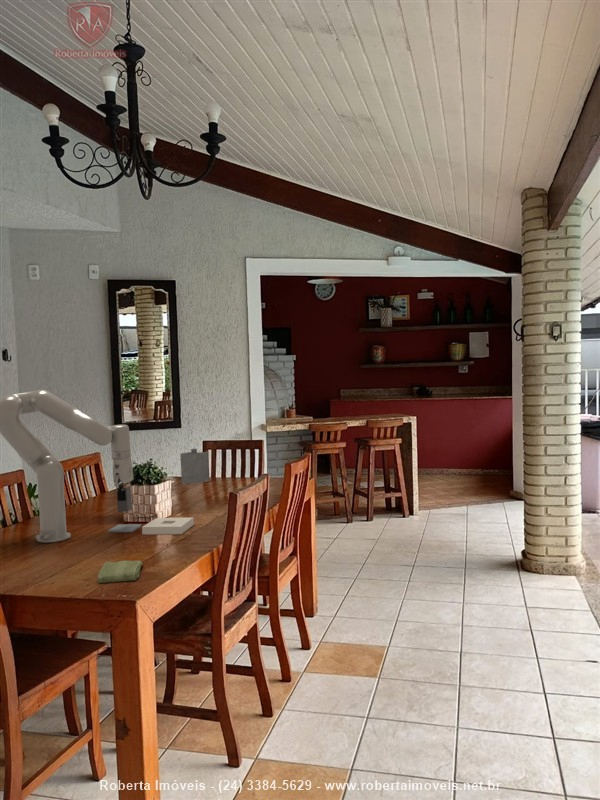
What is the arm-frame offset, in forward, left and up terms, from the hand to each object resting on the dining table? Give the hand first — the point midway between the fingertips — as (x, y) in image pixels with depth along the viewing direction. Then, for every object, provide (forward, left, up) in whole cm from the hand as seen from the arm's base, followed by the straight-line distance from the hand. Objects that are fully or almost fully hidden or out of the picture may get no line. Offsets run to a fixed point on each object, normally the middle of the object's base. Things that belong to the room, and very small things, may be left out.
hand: (124, 498), depth 271 cm
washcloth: (-59, -23, -13) cm, 65 cm away
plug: (0, 0, -5) cm, 5 cm away
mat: (0, 0, -13) cm, 13 cm away
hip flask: (+109, +4, -13) cm, 110 cm away
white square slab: (-1, -19, -13) cm, 23 cm away
